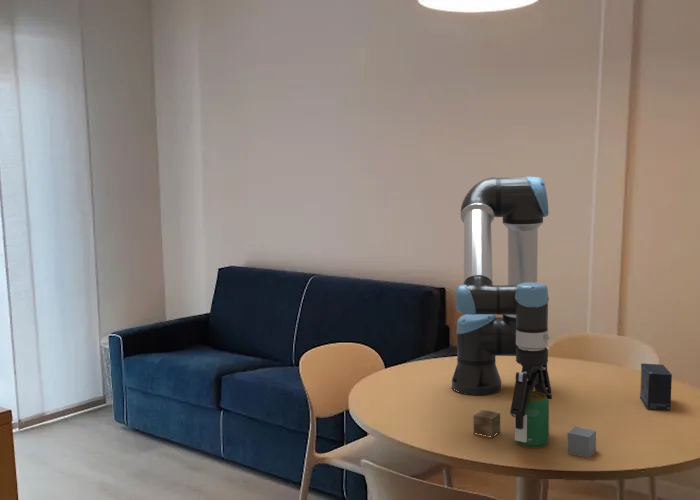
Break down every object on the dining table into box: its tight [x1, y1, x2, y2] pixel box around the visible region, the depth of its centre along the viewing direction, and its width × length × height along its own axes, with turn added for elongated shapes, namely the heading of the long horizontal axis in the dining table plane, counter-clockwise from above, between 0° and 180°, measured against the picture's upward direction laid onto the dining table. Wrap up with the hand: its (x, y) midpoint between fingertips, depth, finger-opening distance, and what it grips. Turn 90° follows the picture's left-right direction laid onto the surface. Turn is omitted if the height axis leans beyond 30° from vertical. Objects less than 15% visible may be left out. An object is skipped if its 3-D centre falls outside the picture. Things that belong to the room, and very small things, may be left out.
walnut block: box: [473, 409, 501, 438], centre depth 178 cm, size 5×5×5 cm
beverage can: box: [516, 390, 550, 449], centre depth 170 cm, size 8×8×12 cm
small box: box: [639, 363, 673, 412], centre depth 195 cm, size 11×6×10 cm, turn 168°
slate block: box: [567, 426, 597, 458], centre depth 164 cm, size 5×5×5 cm
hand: (531, 432), depth 171 cm, fingers open, 12 cm apart
